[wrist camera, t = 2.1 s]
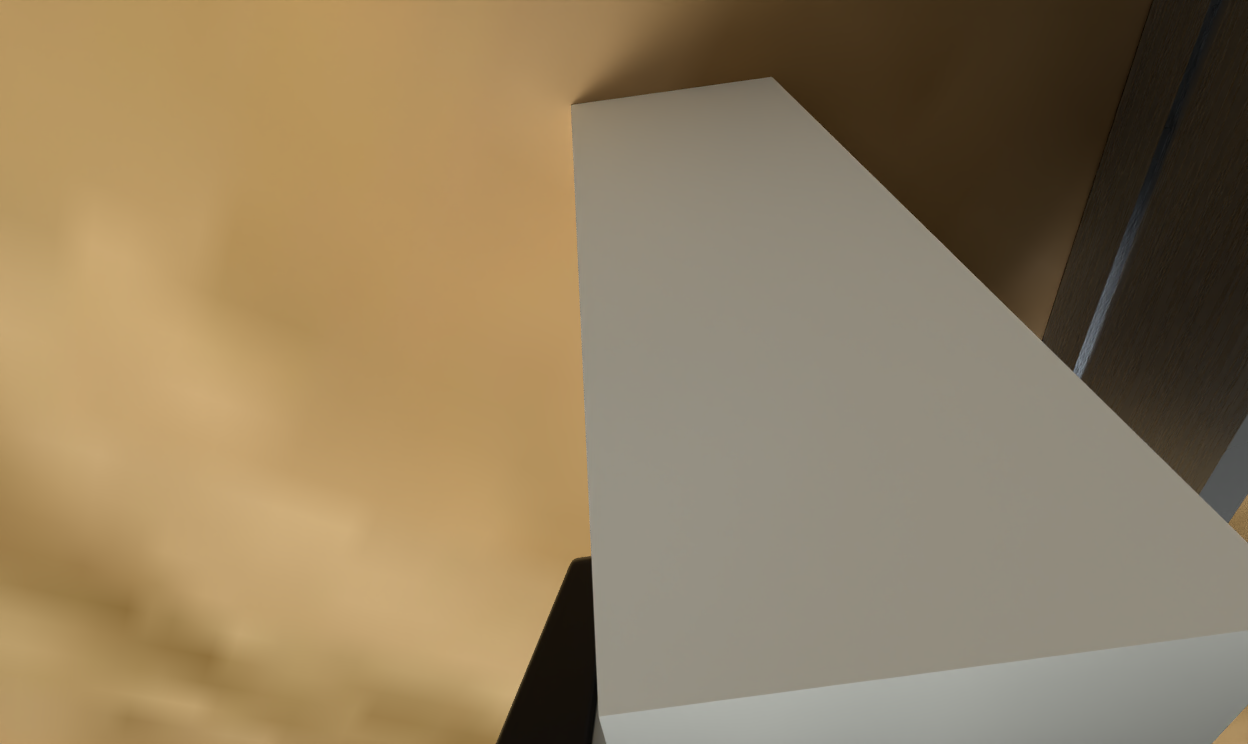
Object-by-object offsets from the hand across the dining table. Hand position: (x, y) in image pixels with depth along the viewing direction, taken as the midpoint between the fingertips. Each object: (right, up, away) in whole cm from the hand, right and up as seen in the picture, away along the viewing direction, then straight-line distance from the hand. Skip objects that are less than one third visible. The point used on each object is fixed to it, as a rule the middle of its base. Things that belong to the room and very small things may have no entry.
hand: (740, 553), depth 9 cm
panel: (0, +3, +4) cm, 5 cm away
